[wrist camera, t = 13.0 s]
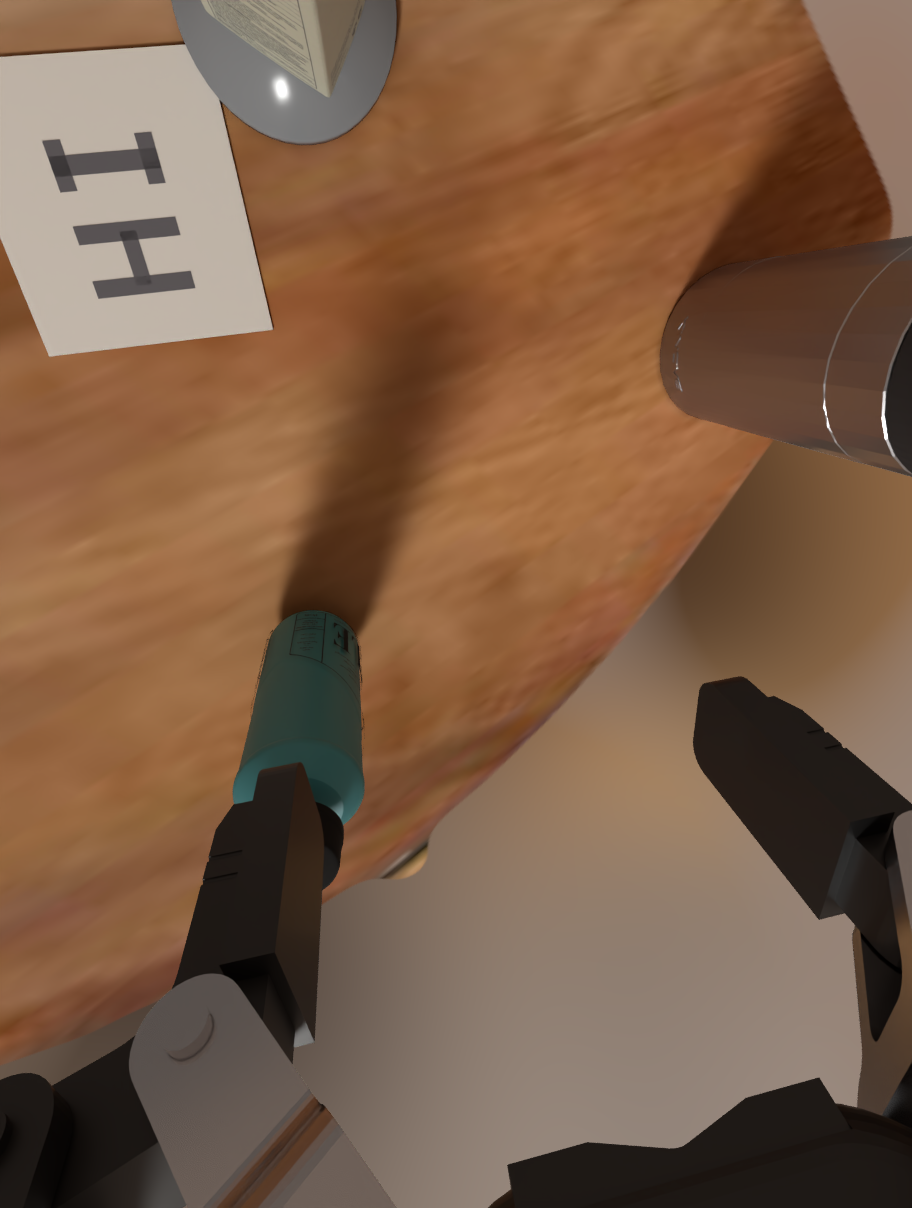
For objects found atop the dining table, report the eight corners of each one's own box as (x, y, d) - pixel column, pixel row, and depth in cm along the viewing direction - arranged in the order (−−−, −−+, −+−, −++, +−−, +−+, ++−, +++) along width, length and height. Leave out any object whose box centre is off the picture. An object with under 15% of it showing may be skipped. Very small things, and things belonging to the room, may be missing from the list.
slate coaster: (376, -159, 24) (376, -169, 23) (409, 136, 29) (410, 132, 28) (135, -151, 23) (130, -162, 22) (211, 153, 28) (208, 150, 27)
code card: (206, 43, 26) (205, 42, 26) (273, 329, 31) (272, 329, 31) (-71, 63, 25) (-73, 61, 25) (50, 356, 30) (49, 356, 30)
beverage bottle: (250, 644, 40) (172, 897, 22) (305, 578, 38) (268, 794, 21) (325, 688, 43) (308, 944, 25) (380, 627, 41) (402, 855, 24)
